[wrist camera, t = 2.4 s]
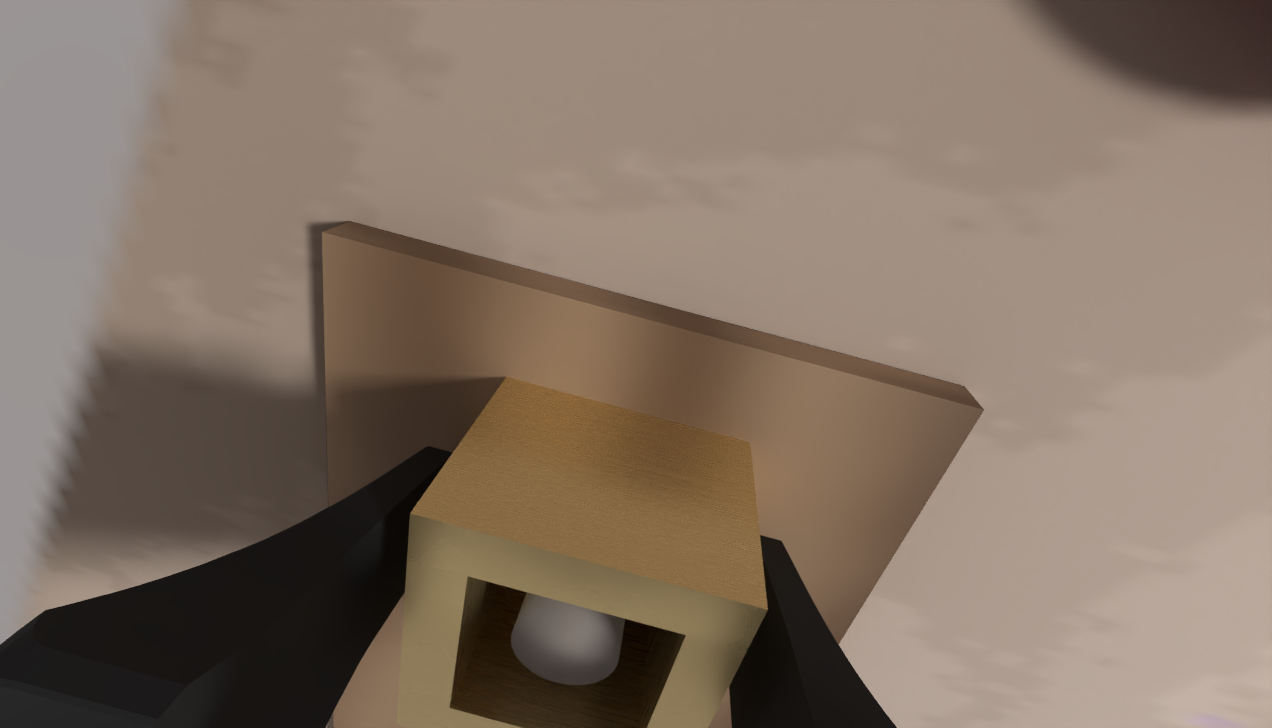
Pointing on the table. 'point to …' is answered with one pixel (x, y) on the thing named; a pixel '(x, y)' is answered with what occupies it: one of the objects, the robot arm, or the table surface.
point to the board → (628, 378)
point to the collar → (581, 565)
